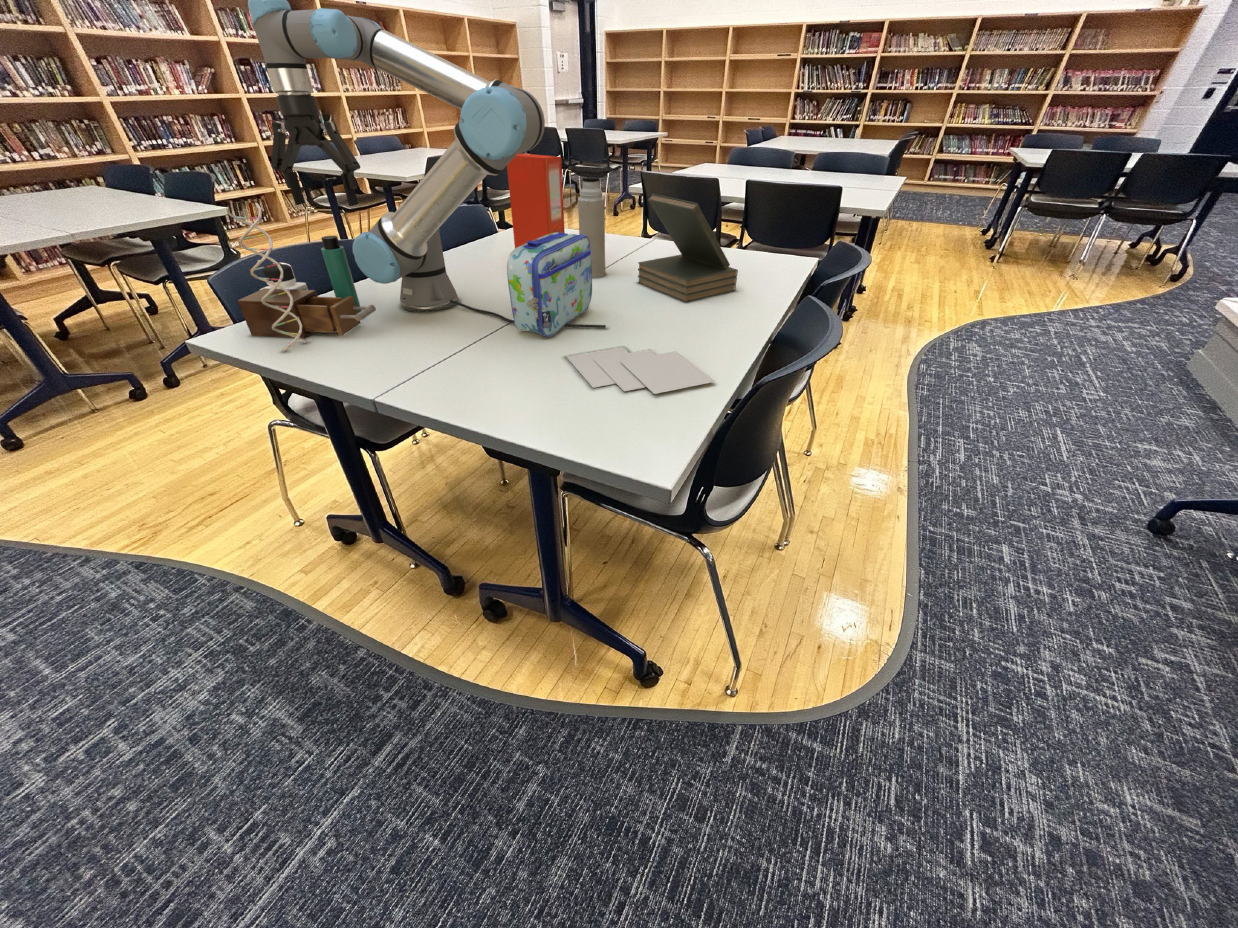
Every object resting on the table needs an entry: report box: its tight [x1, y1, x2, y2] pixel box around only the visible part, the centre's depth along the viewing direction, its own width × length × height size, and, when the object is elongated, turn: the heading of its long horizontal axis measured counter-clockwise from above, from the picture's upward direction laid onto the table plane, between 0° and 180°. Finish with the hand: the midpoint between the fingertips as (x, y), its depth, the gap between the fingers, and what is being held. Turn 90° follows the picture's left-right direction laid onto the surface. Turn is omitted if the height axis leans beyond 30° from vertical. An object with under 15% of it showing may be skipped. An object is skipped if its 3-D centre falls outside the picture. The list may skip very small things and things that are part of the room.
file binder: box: [506, 153, 566, 249], centre depth 178 cm, size 8×17×32 cm, turn 51°
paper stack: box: [565, 346, 717, 395], centre depth 112 cm, size 23×25×1 cm
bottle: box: [320, 235, 362, 313], centre depth 136 cm, size 5×5×19 cm
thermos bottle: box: [577, 176, 606, 279], centre depth 164 cm, size 8×8×28 cm
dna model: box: [225, 202, 307, 353], centre depth 114 cm, size 7×6×30 cm
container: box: [259, 262, 309, 290], centre depth 136 cm, size 8×8×13 cm
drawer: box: [295, 296, 377, 336], centre depth 128 cm, size 18×8×7 cm, turn 84°
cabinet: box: [237, 287, 319, 339], centre depth 129 cm, size 14×10×9 cm
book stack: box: [637, 193, 739, 304], centre depth 154 cm, size 23×20×25 cm
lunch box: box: [506, 232, 593, 338], centre depth 130 cm, size 26×11×21 cm, turn 154°
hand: (327, 204), depth 124 cm, fingers open, 13 cm apart
